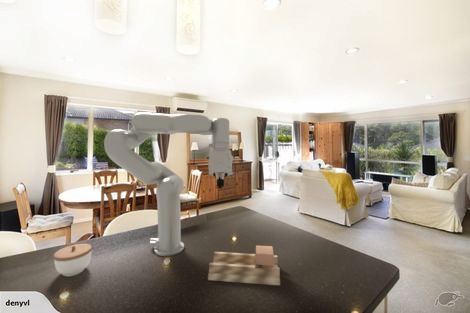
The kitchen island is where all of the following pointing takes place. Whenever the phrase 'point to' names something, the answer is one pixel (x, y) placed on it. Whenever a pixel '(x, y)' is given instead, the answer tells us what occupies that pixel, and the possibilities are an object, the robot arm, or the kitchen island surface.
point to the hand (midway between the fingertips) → (220, 187)
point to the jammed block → (264, 256)
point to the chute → (242, 269)
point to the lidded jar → (72, 259)
